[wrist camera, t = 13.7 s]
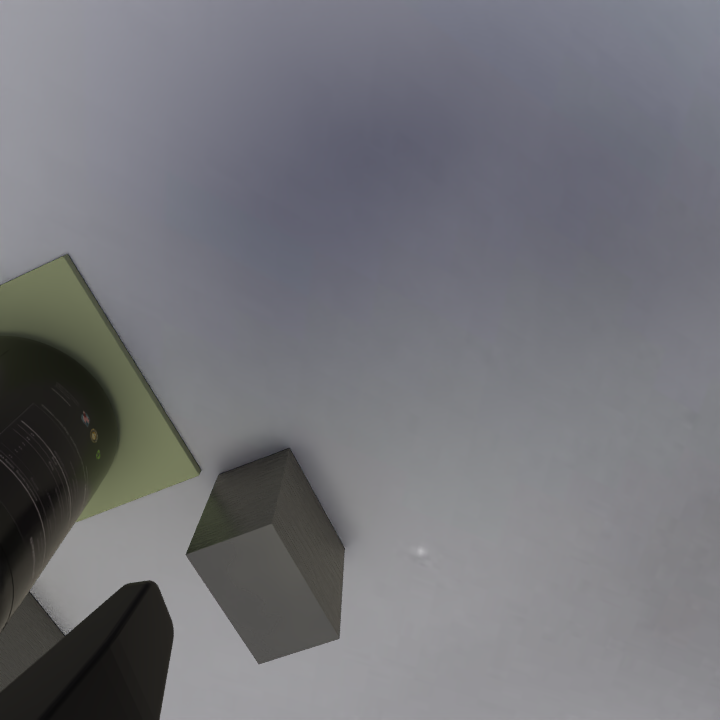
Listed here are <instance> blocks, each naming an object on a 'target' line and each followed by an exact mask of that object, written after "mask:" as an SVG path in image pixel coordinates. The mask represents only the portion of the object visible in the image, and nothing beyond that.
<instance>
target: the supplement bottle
mask: <svg viewBox="0 0 720 720" xmlns="http://www.w3.org/2000/svg"><path fill="white" fill-rule="evenodd" d="M117 441H118V428H117V422H116V417H115V414H114V411H113V408H112V405H111V403H110V401H109V399H108V397H107V395H106V393H105V391H104V390H103V388H102V387H101V385H100V384H99V383H98V381H97V380H96V379H95V378H94V377H93V376H92V374H91V373H90V372H89V371H88V370H87V369H86V368H84V367H83V366H82V365H81V364H80V363H79V362H77V361H76V360H75V359H73V358H72V357H70V356H69V355H67V354H66V353H64V352H62V351H60V350H58V349H56V348H54V347H52V346H50V345H47V344H45V343H42V342H39V341H35V340H32V339H28V338H23V337H17V336H0V634H1V632H2V631H3V629H4V628H5V626H6V625H7V623H8V622H9V621H10V619H11V618H12V616H13V615H14V613H15V612H16V610H17V609H18V607H19V606H20V604H21V603H22V601H23V600H24V598H25V597H26V595H27V594H28V592H29V591H30V589H31V588H32V586H33V585H34V583H35V582H36V580H37V579H38V577H39V576H40V574H41V573H42V571H43V570H44V568H45V567H46V565H47V564H48V562H49V561H50V559H51V558H52V556H53V555H54V553H55V552H56V550H57V549H58V547H59V546H60V544H61V543H62V541H63V540H64V538H65V537H66V535H67V534H68V532H69V531H70V529H71V528H72V526H73V525H74V524H75V522H76V521H77V519H78V518H79V516H80V515H81V513H82V512H83V510H84V509H85V507H86V506H87V504H88V503H89V501H90V500H91V498H92V497H93V495H94V494H95V492H96V491H97V489H98V487H99V486H100V484H101V482H102V481H103V479H104V478H105V476H106V475H107V473H108V471H109V469H110V467H111V465H112V463H113V460H114V457H115V454H116V449H117Z"/></svg>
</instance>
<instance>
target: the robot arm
mask: <svg viewBox="0 0 720 720" xmlns="http://www.w3.org/2000/svg"><path fill="white" fill-rule="evenodd" d="M173 637H174V630H173V623H172V620H171V617H170V615H169V612H168V610H167V607H166V605H165V602H164V600H163V597H162V594H161V592H160V589H159V587H158V585H157V584H156V583H155V582H153V581H142V582H134V583H129V584H126V585H124V586H123V587H121V588H120V589H119V590H118V591H117V592H116V593H114V594H113V595H112V596H111V597H110V598H109V599H108V600H106V601H105V602H104V603H103V604H102V605H101V606H99V607H98V608H97V609H96V610H95V611H94V612H92V613H91V614H90V615H89V616H88V617H87V618H86V619H84V620H83V621H82V622H81V623H80V624H79V625H77V626H76V627H75V628H74V629H73V630H72V631H71V632H69V633H68V634H67V635H66V636H65V637H64V638H62V639H61V640H60V641H59V642H58V643H57V644H55V645H54V646H53V647H52V648H51V649H50V650H48V651H47V652H46V653H45V654H44V655H43V656H42V657H40V658H39V659H38V660H37V661H36V662H35V663H33V664H32V665H31V666H30V667H29V668H28V669H26V670H25V671H24V672H23V673H22V674H21V675H20V676H18V677H17V678H16V679H15V680H14V681H13V682H11V683H10V684H9V685H8V686H7V687H6V688H4V689H3V690H2V691H1V692H0V720H159V719H160V713H161V707H162V702H163V696H164V690H165V684H166V679H167V673H168V667H169V661H170V656H171V650H172V644H173Z"/></svg>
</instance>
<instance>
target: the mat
mask: <svg viewBox="0 0 720 720" xmlns="http://www.w3.org/2000/svg"><path fill="white" fill-rule="evenodd" d="M0 336H17V337H23V338H28V339H32V340H35V341H39V342H42V343H45V344H47V345H50V346H52V347H54V348H56V349H58V350H60V351H62V352H64V353H66V354H67V355H69V356H70V357H72V358H73V359H75V360H76V361H77V362H79V363H80V364H81V365H82V366H83V367H84V368H86V369H87V370H88V371H89V372H90V373H91V374H92V376H93V377H94V378H95V379H96V380H97V381H98V383H99V384H100V385H101V387H102V388H103V390H104V391H105V393H106V395H107V397H108V399H109V401H110V403H111V405H112V408H113V411H114V414H115V417H116V422H117V428H118V441H117V449H116V454H115V457H114V460H113V463H112V465H111V467H110V469H109V471H108V473H107V475H106V476H105V478H104V479H103V481H102V482H101V484H100V486H99V487H98V489H97V491H96V492H95V494H94V495H93V497H92V498H91V500H90V501H89V503H88V504H87V506H86V507H85V509H84V510H83V512H82V513H81V515H80V516H79V518H78V519H77V521H76V522H78V521H81V520H83V519H86V518H88V517H91V516H94V515H96V514H99V513H102V512H104V511H107V510H109V509H112V508H115V507H117V506H120V505H122V504H125V503H128V502H130V501H133V500H136V499H138V498H141V497H143V496H146V495H149V494H151V493H154V492H157V491H159V490H162V489H164V488H167V487H170V486H172V485H175V484H178V483H180V482H183V481H185V480H188V479H191V478H193V477H196V476H198V475H199V474H200V472H201V470H200V468H199V467H198V465H197V463H196V462H195V460H194V458H193V457H192V455H191V454H190V452H189V450H188V449H187V447H186V445H185V444H184V442H183V441H182V439H181V437H180V436H179V434H178V433H177V431H176V429H175V428H174V426H173V424H172V423H171V421H170V420H169V418H168V416H167V415H166V413H165V411H164V410H163V408H162V407H161V405H160V403H159V402H158V400H157V398H156V397H155V395H154V394H153V392H152V390H151V389H150V387H149V386H148V384H147V382H146V381H145V379H144V377H143V376H142V374H141V373H140V371H139V369H138V368H137V366H136V364H135V363H134V361H133V360H132V358H131V356H130V355H129V353H128V352H127V350H126V348H125V347H124V345H123V343H122V342H121V340H120V339H119V337H118V335H117V334H116V332H115V330H114V329H113V327H112V326H111V324H110V322H109V321H108V319H107V318H106V316H105V314H104V313H103V311H102V309H101V308H100V306H99V305H98V303H97V301H96V300H95V298H94V296H93V295H92V293H91V292H90V290H89V288H88V287H87V285H86V284H85V282H84V280H83V279H82V277H81V275H80V274H79V272H78V271H77V269H76V267H75V266H74V264H73V262H72V261H71V259H70V258H69V256H68V254H67V255H64V256H62V257H60V258H58V259H56V260H54V261H52V262H49V263H47V264H45V265H43V266H41V267H39V268H37V269H34V270H32V271H30V272H28V273H26V274H24V275H22V276H19V277H17V278H15V279H13V280H11V281H9V282H7V283H5V284H2V285H0Z"/></svg>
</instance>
